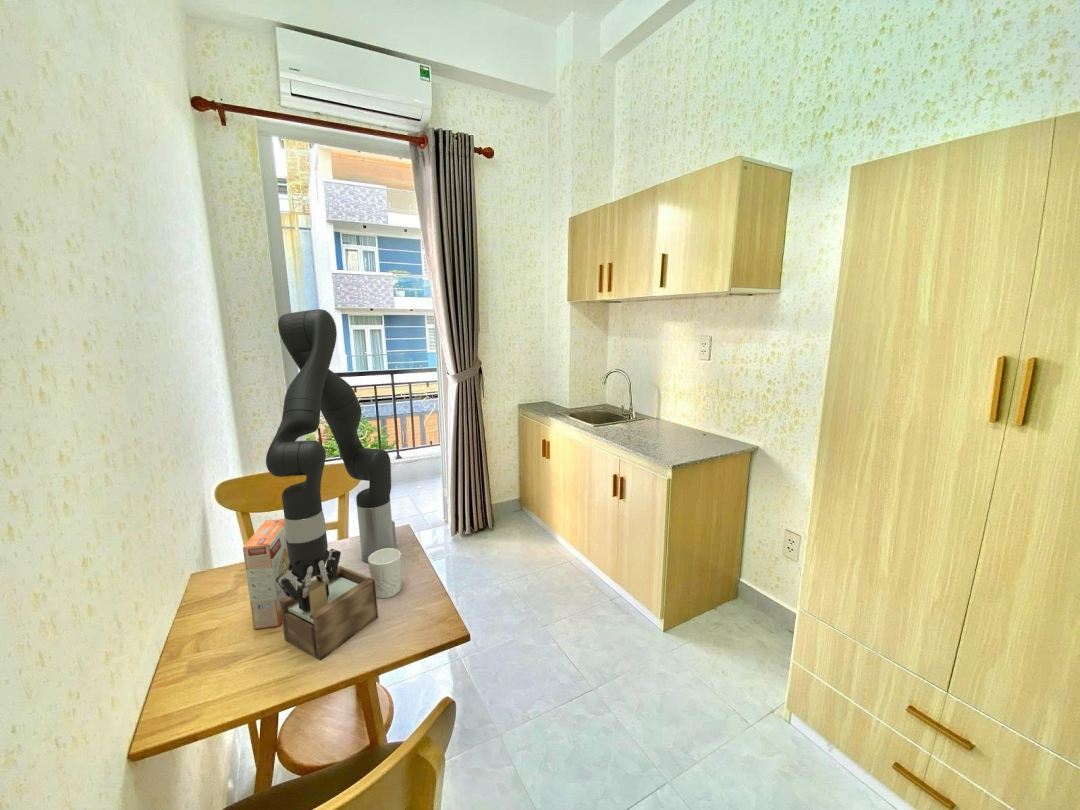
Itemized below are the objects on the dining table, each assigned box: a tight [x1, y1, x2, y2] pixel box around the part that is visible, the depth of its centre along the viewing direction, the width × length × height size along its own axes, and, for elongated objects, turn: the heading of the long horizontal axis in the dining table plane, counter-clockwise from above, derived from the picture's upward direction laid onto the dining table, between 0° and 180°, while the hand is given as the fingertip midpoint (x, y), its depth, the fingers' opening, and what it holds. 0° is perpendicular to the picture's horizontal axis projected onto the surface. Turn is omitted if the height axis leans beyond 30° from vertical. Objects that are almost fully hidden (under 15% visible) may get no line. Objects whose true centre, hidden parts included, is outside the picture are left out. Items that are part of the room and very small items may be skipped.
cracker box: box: [242, 517, 296, 630], centre depth 104 cm, size 14×6×21 cm, turn 14°
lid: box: [288, 576, 358, 624], centre depth 97 cm, size 13×10×6 cm
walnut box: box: [279, 565, 379, 661], centre depth 98 cm, size 15×12×10 cm
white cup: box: [368, 548, 402, 599], centre depth 112 cm, size 8×8×10 cm
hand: (314, 604), depth 94 cm, fingers closed on lid, 3 cm apart
